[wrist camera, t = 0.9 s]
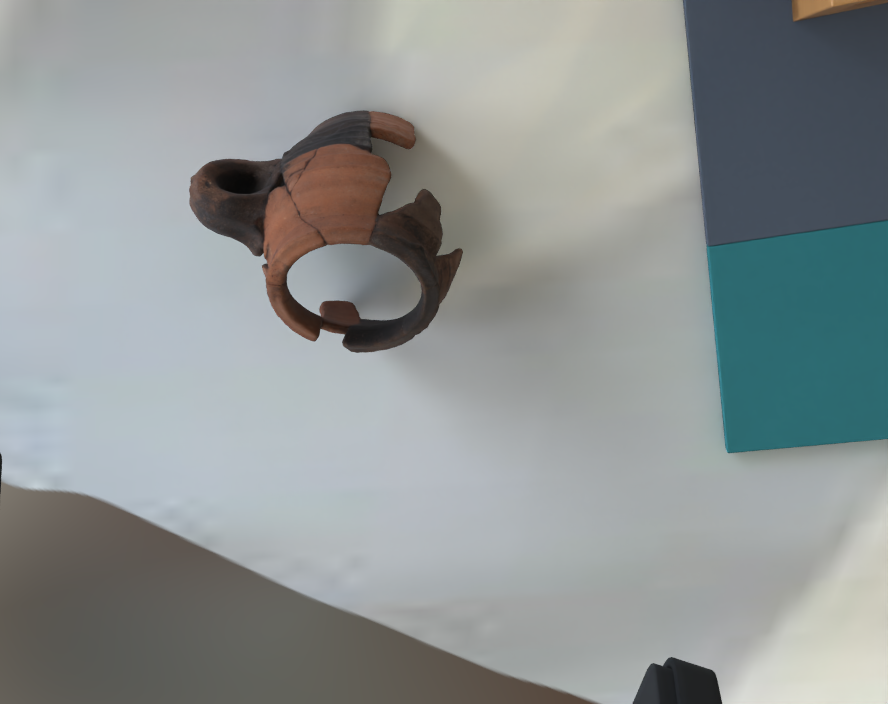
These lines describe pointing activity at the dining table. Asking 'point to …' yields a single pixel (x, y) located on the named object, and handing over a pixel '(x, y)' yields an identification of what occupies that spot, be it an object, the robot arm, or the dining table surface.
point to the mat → (794, 217)
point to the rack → (827, 7)
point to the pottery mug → (330, 221)
